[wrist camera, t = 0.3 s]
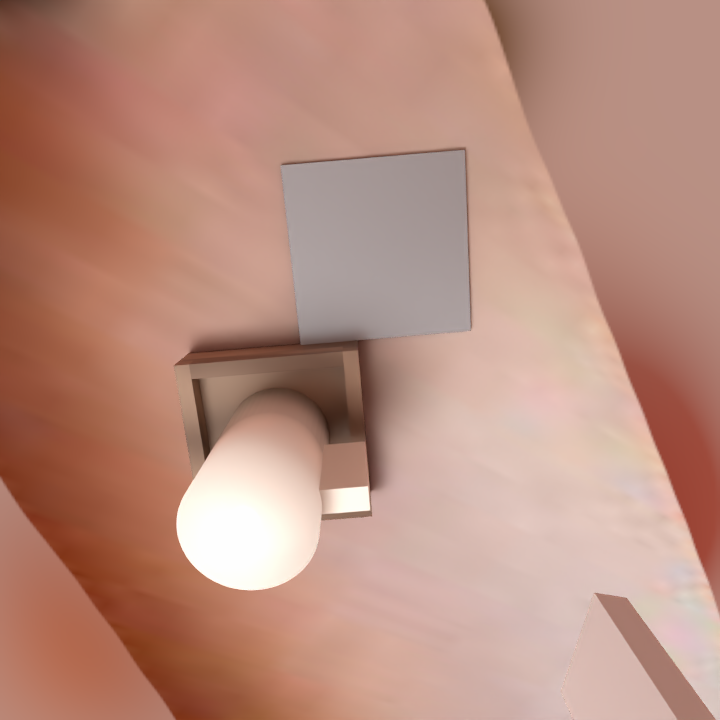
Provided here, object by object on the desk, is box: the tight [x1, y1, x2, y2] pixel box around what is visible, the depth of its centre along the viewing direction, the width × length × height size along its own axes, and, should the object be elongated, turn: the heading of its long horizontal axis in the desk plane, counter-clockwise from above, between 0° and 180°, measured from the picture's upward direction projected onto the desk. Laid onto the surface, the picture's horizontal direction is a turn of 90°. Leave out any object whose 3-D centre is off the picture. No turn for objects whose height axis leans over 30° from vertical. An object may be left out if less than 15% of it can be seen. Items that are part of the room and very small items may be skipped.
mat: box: [281, 150, 471, 345], centre depth 37 cm, size 12×12×1 cm
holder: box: [174, 340, 372, 520], centre depth 39 cm, size 12×12×4 cm
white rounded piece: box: [177, 388, 370, 590], centre depth 33 cm, size 7×10×12 cm
